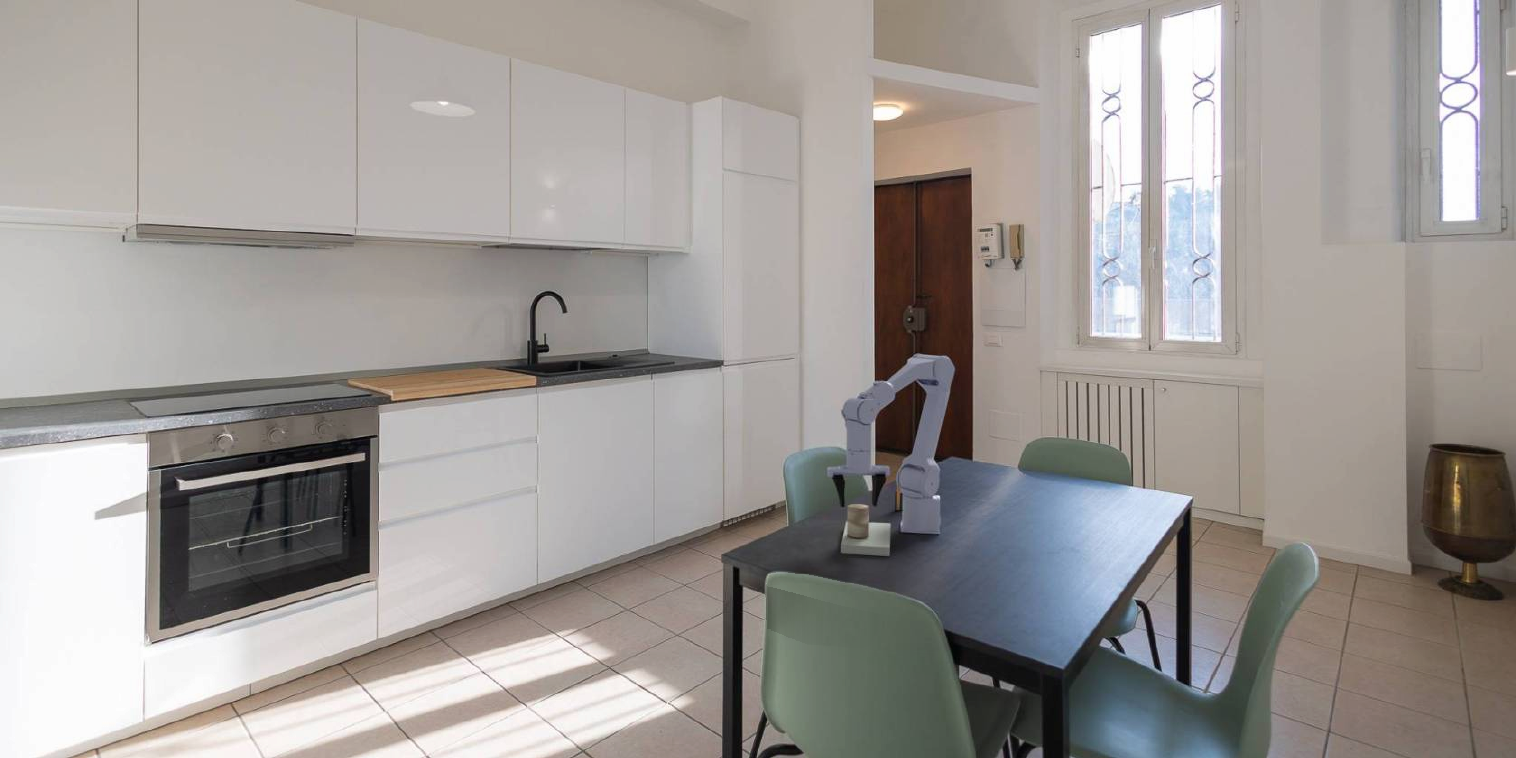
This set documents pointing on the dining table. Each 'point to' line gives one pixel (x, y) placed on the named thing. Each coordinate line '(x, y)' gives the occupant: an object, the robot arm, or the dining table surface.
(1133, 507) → the dining table surface
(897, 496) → the ammunition clip
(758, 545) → the dining table surface
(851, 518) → the peg
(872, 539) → the board
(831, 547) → the dining table surface
